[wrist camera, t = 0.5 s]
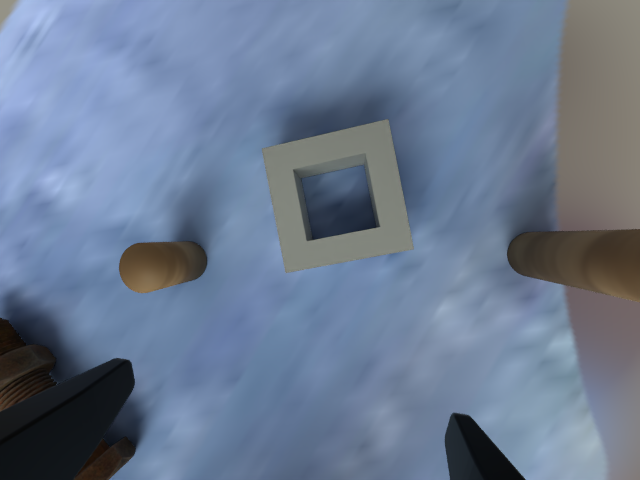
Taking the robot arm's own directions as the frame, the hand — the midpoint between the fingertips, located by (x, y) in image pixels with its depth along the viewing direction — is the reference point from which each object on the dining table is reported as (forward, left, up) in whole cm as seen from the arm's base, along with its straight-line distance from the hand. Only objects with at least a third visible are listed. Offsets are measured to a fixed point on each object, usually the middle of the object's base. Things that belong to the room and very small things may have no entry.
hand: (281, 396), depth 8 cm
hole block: (+6, -2, -14) cm, 15 cm away
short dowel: (+4, +10, -14) cm, 17 cm away
